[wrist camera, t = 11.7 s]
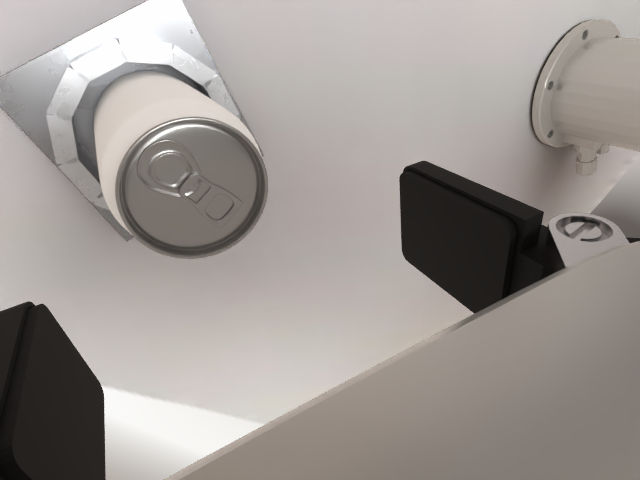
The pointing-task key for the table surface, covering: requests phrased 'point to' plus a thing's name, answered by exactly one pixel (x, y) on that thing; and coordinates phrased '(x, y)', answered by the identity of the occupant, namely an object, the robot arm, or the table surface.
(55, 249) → the table surface
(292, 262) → the table surface
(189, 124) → the can
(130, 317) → the table surface
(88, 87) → the duct collar
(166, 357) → the table surface
